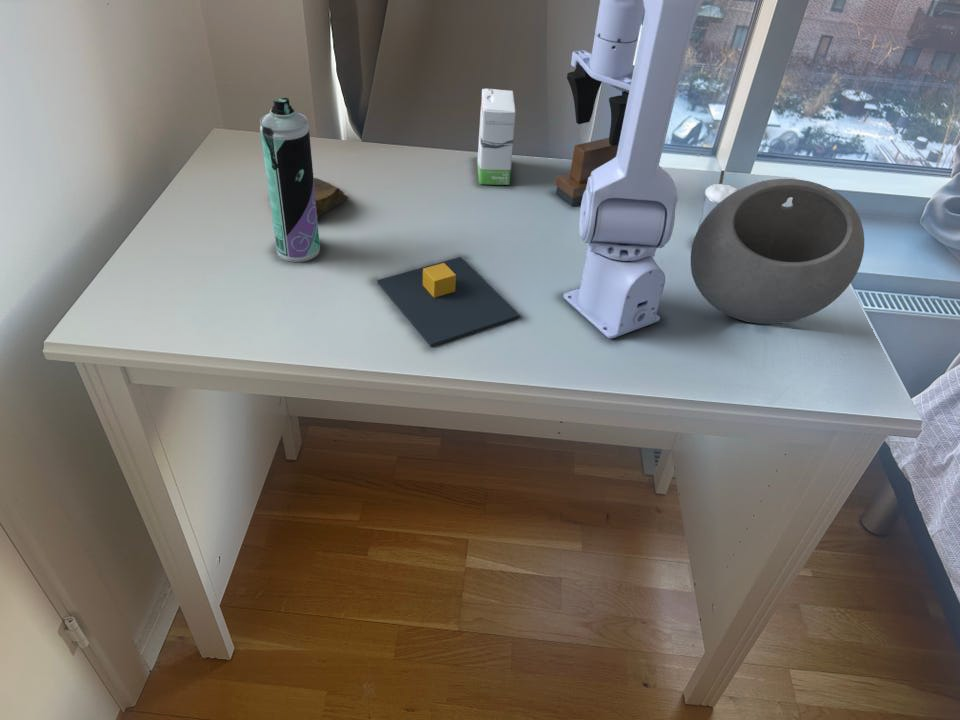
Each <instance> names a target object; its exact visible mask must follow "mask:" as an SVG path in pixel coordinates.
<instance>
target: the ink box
mask: <svg viewBox="0 0 960 720" xmlns="http://www.w3.org/2000/svg"><path fill="white" fill-rule="evenodd" d="M480 99H481V100H480V114H479V126H478V127H479V128H478V129H479V130H478V131H479V132H478V146H477V160H476V161H477V174H478V183H479V185H492V186H493V185H494V186H504V185H505V186H509V185H510V184H511V183H510V182H511V172H512V163H513V150H514V149H513V148H514V137H515V126H516V115H517V114H516V113H517V112H516V104H515V96H514V91H513V90H509V89H495V88H482V89H481V98H480Z"/></svg>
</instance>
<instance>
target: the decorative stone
mask: <svg viewBox="0 0 960 720" xmlns="http://www.w3.org/2000/svg"><path fill="white" fill-rule="evenodd" d="M313 178H314V189H315V200H316V211H317V218H318V217H319V216H320V215H321V214H323V213H325V212H327V211H328V210H330V209H332V208H334V207H336V206H338V205H340V204H341V203H343V202H345V201H347V200H348V198H349V196H347V194H345V192H344V191H343V190H342V189H340V188H339V187H337V186H335V185H333V184H331V183H329V182H327V181H324V180H322V179H320V178H317V177H313Z"/></svg>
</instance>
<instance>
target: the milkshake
mask: <svg viewBox="0 0 960 720" xmlns="http://www.w3.org/2000/svg"><path fill="white" fill-rule="evenodd" d="M724 177H725V170H720V176H719V181H718V183H714V184H711V185H710V186H708V187H706V189H705V191H704V196H703V202H702V207H701V213H700V217H699V223H698V227H697V230H698V229H699V227H700V225H701V224H702V222H703V220H704V219H705V218H706V216H707V215H708V214H709V213H710V212H711V211H712V209H713V208H714V207H715V206H717V205H718V204H719V203H720V202H721V201H722V200H724V199H725V198H726V197H728V196H729V195H731V194H732V193H734V192H736V191H737V190H739V189H738V188H737V187H733V186H731V185H729V184H724V183H723V182H724Z"/></svg>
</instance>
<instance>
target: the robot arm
mask: <svg viewBox="0 0 960 720" xmlns="http://www.w3.org/2000/svg"><path fill="white" fill-rule="evenodd" d="M705 1H706V0H599V5H598V11H597V12H598V13H597V18H596V25H595V32H594V38H593V44H592V49H591V52H588V51H586V50H584V49H581V50H576V51H572V53H571V61H570V67H573V68H575V69H573V70H574V71H569V72H567V73H566V74H567V75H566V80H567V82H568V84H569V87H570V90H571V94H572V98H573V105H574V114H575V122H576V124H578V125H582V124H587V123H590V122H591V119H592V116H593V113H594V108H595V104H596V99H597V96H598V93H599V90H600V88H601V85H602V83H605V84H607V85H609V86H611V87H613V88H614V89H616V90H617V91H619V92H621V95H615V96H611V97H609V98H608V103H609V108H610V127H609V134H608V135H609V136H608V138H609V144H610V145H611V146H615V145H618V150H617V155H616V157H615V158H613V159H612V160H610V161H609V162H607V163H605V164H603V165H602V166H600V167H598V168H596V169H595V170H593V171H592V172H591V176H590V177H589V178H588V182H587V186H586V190H585V192H584V194H583V197H582V202H581V204H580V210H579V221H578V223H579V224H578V231H579V237H580V238H581V240H582V241H583V242H584V243H585V244H587V248H586V255H585V260H584V265H583V270H582V276H581V281H580V287H579V288H576V289H573V290H571V291H568V292H564V293H563V296H562V297H563V299H564V300H565V301H567V303H569V304H570V305H571V306H572V307H573V308H574V310H576V311H578V313H580V315H582V316H583V317H584V318H586V320H587V321H589V322H590V323H591V324H592V325H593V326H594V327H595V328H597V330H599V331H600V332H601V333H602V334H603V335H604V336H605V337H606V338H608V339H614V338H617V337H620V336H623V335H625V334H628V333H631V332H633V331H637V330H639V329H642V328H644V327H647V326H649V325H652V324H656V323H658V322H660V319H661V317H660V316H659V314H657V313H658V310H659V307H660V303H661V300H662V295H663V293H664V290H665V289H664V288H665V286H666V275H665V272H664V271H663V269H662V268H661V267H660V266H659V264H657V262H656V260H655V258H654V257H655V256H656V255H655V254H656V251H657V249H662V248H664V247H665V246H666V245H667V244H668V243H669V242H670V240H671V237H672V235H673V230H674V226H675V220H676V207H677V204H678V199H679V198H678V191H677V187H676V183H675V181H674V179H673V177H672V176H671V175H670V174H669V173H668V172H667V171H666V170H665V169H664V168H662V166H661V165H660V162H661V159H662V154H663V151H664V147H665V142H666V139H667V135H668V129H669V126H670V122H671V117H672V113H673V109H674V106H675V101H676V97H677V94H678V93H677V92H678V90H679V89H678V88H679V85H680V81H681V77H682V74H683V69H684V64H685V60H686V56H687V52H688V48H689V44H690V41H691V37H692V32H693V28H694V26H695V23H696V21H697V18H698V15H699V12H700V10H701V6H702V4H703V3H704V2H705ZM643 16H644V17H643ZM642 20H643V21H642ZM641 26H642V27H641ZM639 36H640V37H639ZM635 55H636V56H635Z"/></svg>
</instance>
